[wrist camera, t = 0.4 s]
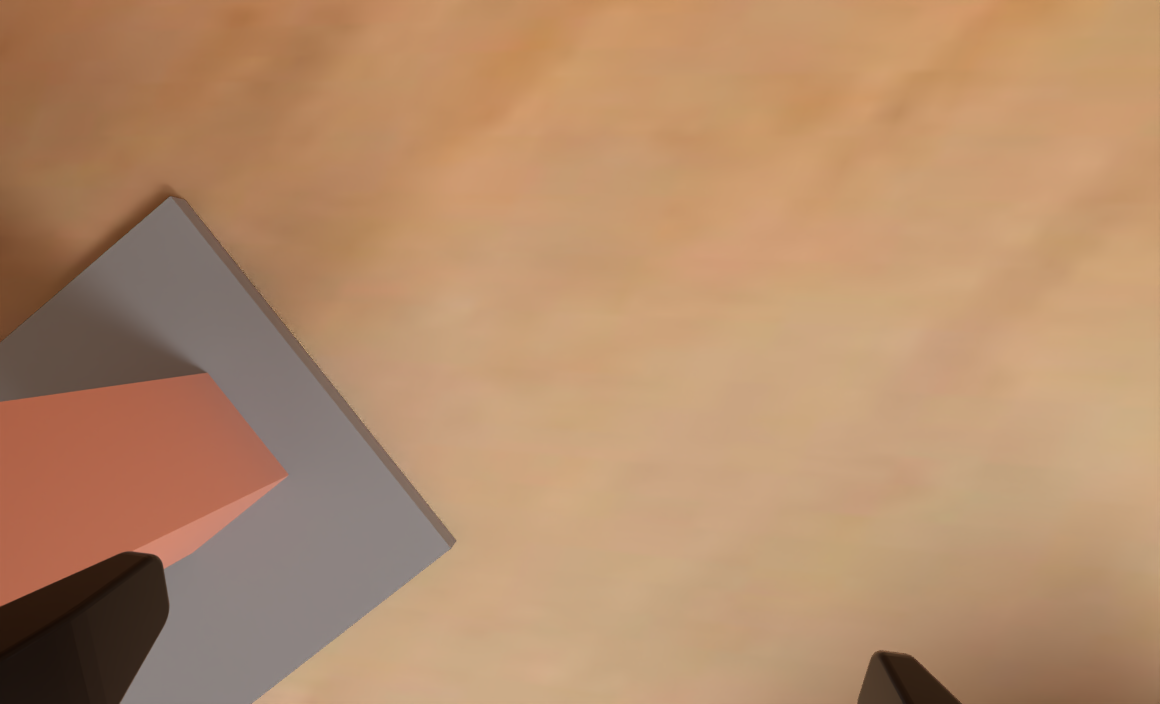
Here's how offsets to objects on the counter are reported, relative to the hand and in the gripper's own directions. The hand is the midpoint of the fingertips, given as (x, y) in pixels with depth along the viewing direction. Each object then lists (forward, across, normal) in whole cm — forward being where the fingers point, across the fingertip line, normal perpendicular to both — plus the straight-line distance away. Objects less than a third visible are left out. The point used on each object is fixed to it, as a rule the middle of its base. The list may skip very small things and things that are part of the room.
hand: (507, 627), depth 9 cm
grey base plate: (+13, +16, +11) cm, 23 cm away
